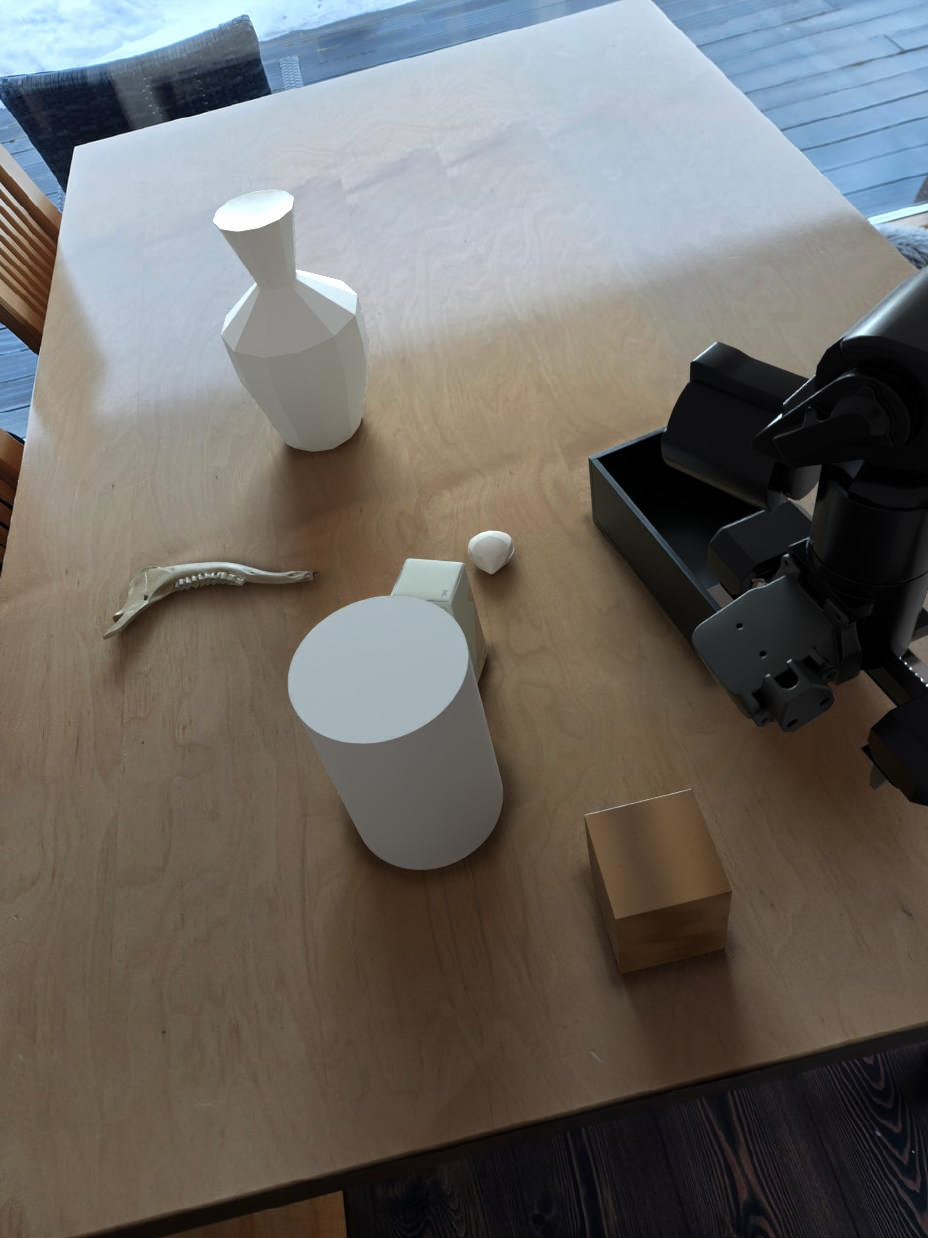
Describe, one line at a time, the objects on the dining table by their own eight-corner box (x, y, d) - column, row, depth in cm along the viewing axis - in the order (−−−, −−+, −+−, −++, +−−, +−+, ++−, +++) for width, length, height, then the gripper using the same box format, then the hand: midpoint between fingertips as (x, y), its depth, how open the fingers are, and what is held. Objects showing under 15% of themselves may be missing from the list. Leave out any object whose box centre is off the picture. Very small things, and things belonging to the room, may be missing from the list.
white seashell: (515, 541, 88) (512, 522, 86) (516, 580, 84) (513, 561, 82) (470, 546, 88) (465, 527, 86) (470, 585, 85) (465, 566, 83)
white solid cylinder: (518, 745, 73) (487, 604, 60) (482, 882, 66) (439, 756, 53) (381, 726, 76) (325, 588, 64) (333, 855, 70) (259, 729, 57)
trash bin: (836, 624, 76) (850, 559, 70) (715, 677, 74) (719, 616, 69) (696, 475, 89) (699, 412, 84) (592, 518, 88) (587, 456, 82)
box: (489, 650, 80) (469, 561, 71) (476, 691, 77) (453, 604, 69) (431, 643, 81) (405, 555, 73) (416, 682, 79) (388, 596, 70)
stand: (688, 852, 65) (691, 788, 58) (724, 949, 61) (732, 891, 54) (591, 876, 65) (583, 814, 58) (620, 974, 61) (615, 920, 54)
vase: (319, 487, 97) (237, 266, 78) (240, 438, 105) (149, 226, 86) (415, 414, 103) (361, 191, 84) (334, 373, 110) (267, 160, 92)
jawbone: (110, 590, 93) (101, 575, 91) (307, 528, 95) (301, 512, 93) (111, 651, 86) (101, 636, 85) (322, 583, 88) (316, 567, 87)
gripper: (623, 487, 48) (630, 667, 60) (854, 762, 36) (806, 919, 48) (808, 412, 50) (780, 601, 62) (1088, 652, 38) (986, 830, 50)
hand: (828, 724), depth 55 cm, fingers open, 9 cm apart
